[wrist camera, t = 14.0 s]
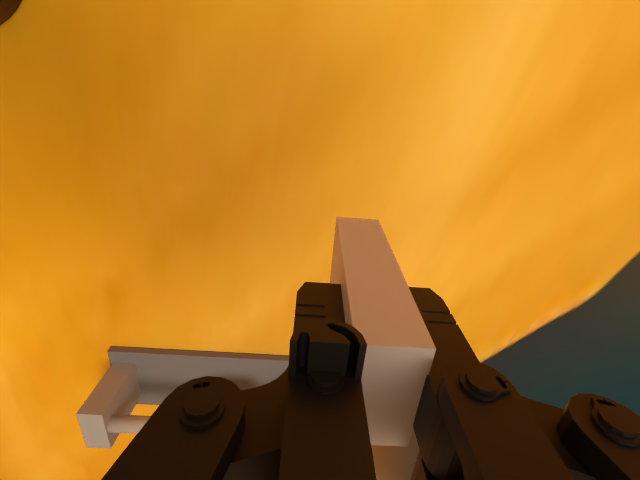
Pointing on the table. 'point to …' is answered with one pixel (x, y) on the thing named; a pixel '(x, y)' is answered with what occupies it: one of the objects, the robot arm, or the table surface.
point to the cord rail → (161, 384)
